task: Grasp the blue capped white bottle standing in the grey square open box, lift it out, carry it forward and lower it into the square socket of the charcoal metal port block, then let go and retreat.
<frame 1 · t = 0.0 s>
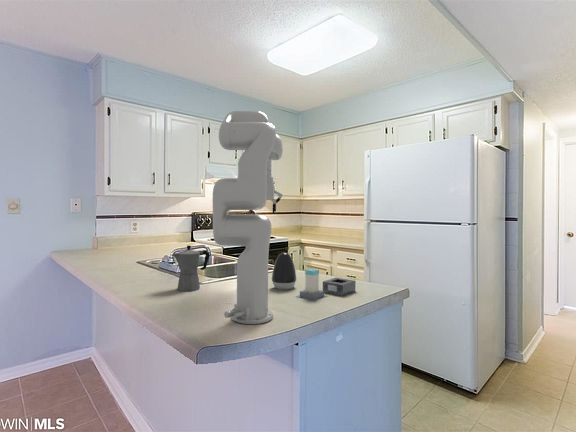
hand: (262, 213, 146), 31 cm above the table, tool pointing down, fingers open, 9 cm apart
port: (339, 293, 132), on the table
coffeepot: (191, 289, 138), on the table
dark egg-shaped speaker: (284, 289, 139), on the table
grey square open box: (311, 298, 125), on the table
blue capped white bottle: (311, 296, 125), point 1 cm above the table, touching grey square open box
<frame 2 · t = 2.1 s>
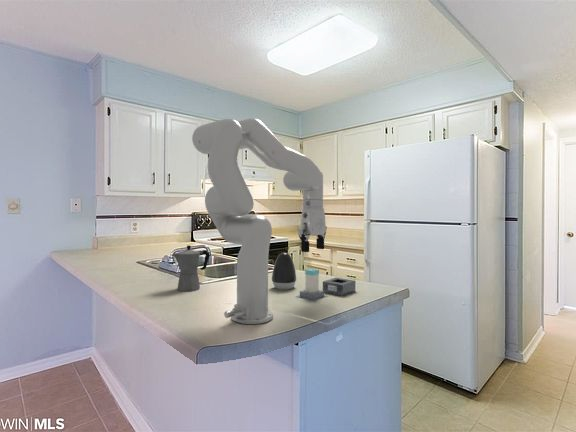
hand: (313, 250, 125), 18 cm above the table, tool pointing down, fingers open, 9 cm apart
nothing on the table moved.
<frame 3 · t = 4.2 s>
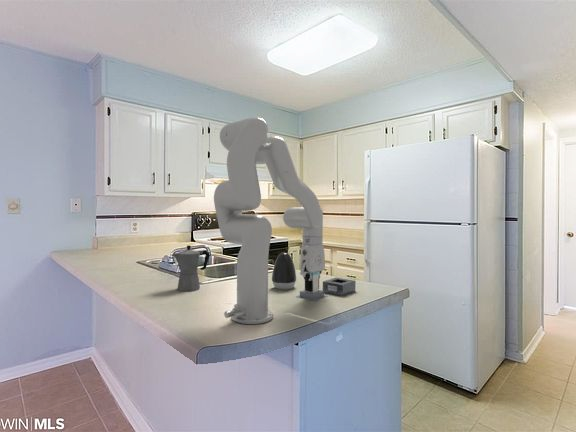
hand: (312, 289, 125), 3 cm above the table, tool pointing down, fingers closed on blue capped white bottle, 3 cm apart
blue capped white bottle: (311, 296, 125), point 1 cm above the table, touching gripper, grey square open box
everything else where it was.
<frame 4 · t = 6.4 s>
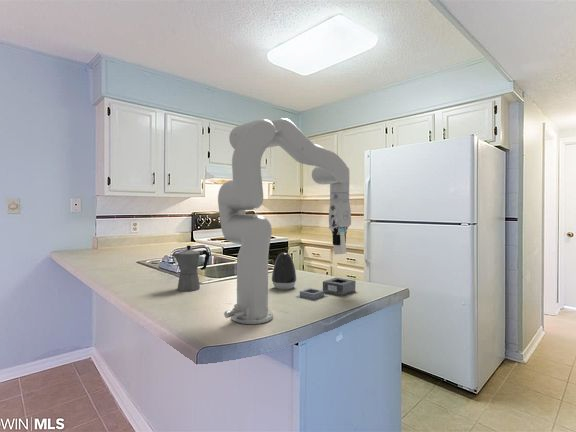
hand: (339, 243, 132), 20 cm above the table, tool pointing down, fingers closed on blue capped white bottle, 3 cm apart
blue capped white bottle: (340, 253, 131), point 16 cm above the table, tilted 7°, touching gripper
everything else where it was.
when the fingers open (5 cm above the table, at t = 8.8 s): blue capped white bottle stays where it is, resting on port.
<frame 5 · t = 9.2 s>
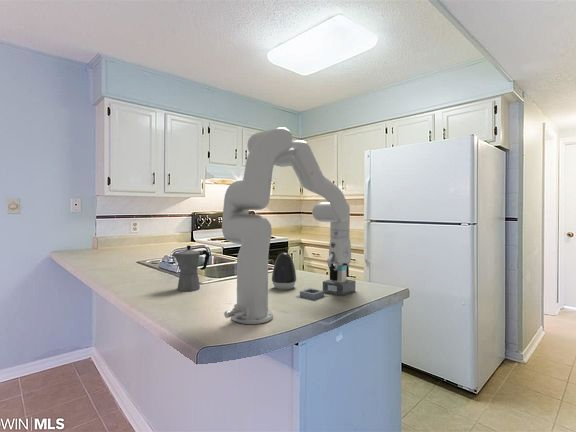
hand: (339, 278, 132), 6 cm above the table, tool pointing down, fingers open, 8 cm apart
blue capped white bottle: (340, 290, 132), point 1 cm above the table, touching port
everything else where it was.
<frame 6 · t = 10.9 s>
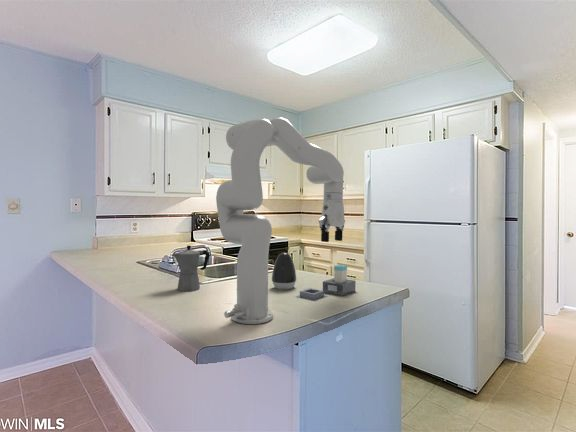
hand: (331, 241, 132), 21 cm above the table, tool pointing down, fingers open, 9 cm apart
nothing on the table moved.
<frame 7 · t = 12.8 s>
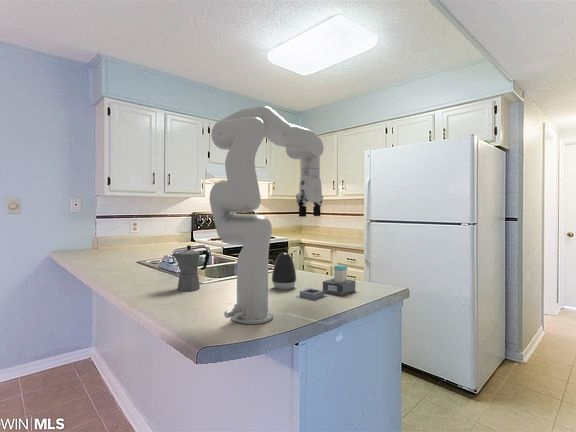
hand: (309, 216, 135), 30 cm above the table, tool pointing down, fingers open, 9 cm apart
nothing on the table moved.
at the end: blue capped white bottle 0.6 cm off-centre on the port, point 1.0 cm above the port's base; blue capped white bottle tilted 0°; the gripper is holding nothing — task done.
